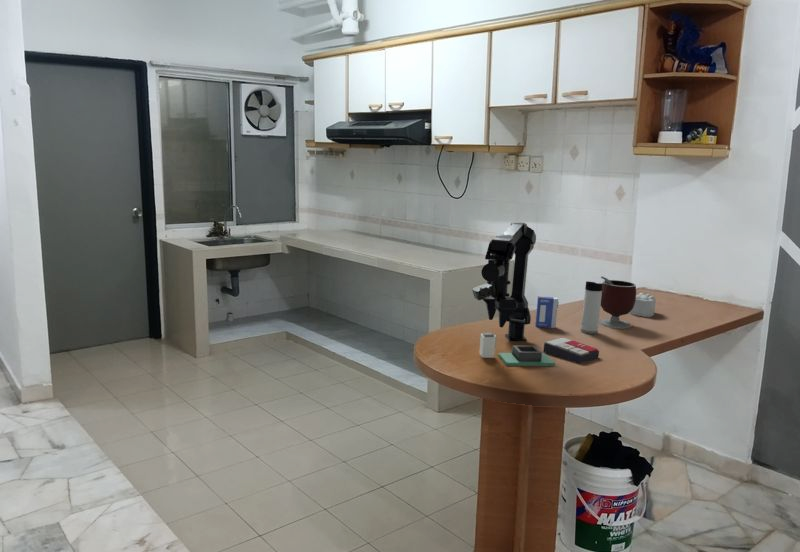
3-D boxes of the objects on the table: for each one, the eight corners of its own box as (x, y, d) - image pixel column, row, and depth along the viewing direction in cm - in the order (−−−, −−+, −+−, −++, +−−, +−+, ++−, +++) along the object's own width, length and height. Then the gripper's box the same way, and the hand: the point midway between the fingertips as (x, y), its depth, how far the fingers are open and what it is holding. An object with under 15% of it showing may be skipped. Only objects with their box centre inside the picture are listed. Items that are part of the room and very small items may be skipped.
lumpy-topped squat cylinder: (625, 313, 289) (627, 294, 288) (633, 308, 300) (635, 289, 298) (649, 318, 284) (651, 298, 282) (657, 312, 294) (659, 293, 293)
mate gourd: (618, 319, 279) (623, 272, 275) (639, 328, 266) (645, 279, 262) (586, 320, 274) (591, 273, 270) (606, 329, 261) (612, 279, 257)
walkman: (536, 326, 260) (538, 296, 258) (535, 325, 263) (537, 295, 261) (556, 328, 260) (559, 298, 257) (555, 326, 262) (558, 296, 260)
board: (498, 355, 221) (499, 344, 220) (544, 356, 223) (545, 344, 222) (506, 365, 211) (507, 353, 210) (554, 365, 213) (556, 354, 212)
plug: (479, 353, 222) (480, 331, 221) (492, 354, 223) (494, 332, 221) (482, 357, 218) (483, 335, 217) (495, 357, 219) (497, 335, 217)
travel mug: (577, 331, 256) (582, 280, 252) (585, 328, 261) (590, 278, 257) (592, 335, 252) (597, 283, 248) (600, 332, 257) (605, 281, 253)
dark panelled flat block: (581, 354, 216) (544, 340, 227) (579, 366, 217) (542, 352, 228) (600, 348, 223) (563, 335, 234) (598, 360, 224) (561, 347, 235)
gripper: (466, 271, 221) (463, 316, 224) (486, 282, 204) (482, 331, 207) (497, 271, 224) (494, 316, 227) (520, 282, 206) (516, 331, 209)
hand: (495, 323), depth 217 cm, fingers open, 9 cm apart
